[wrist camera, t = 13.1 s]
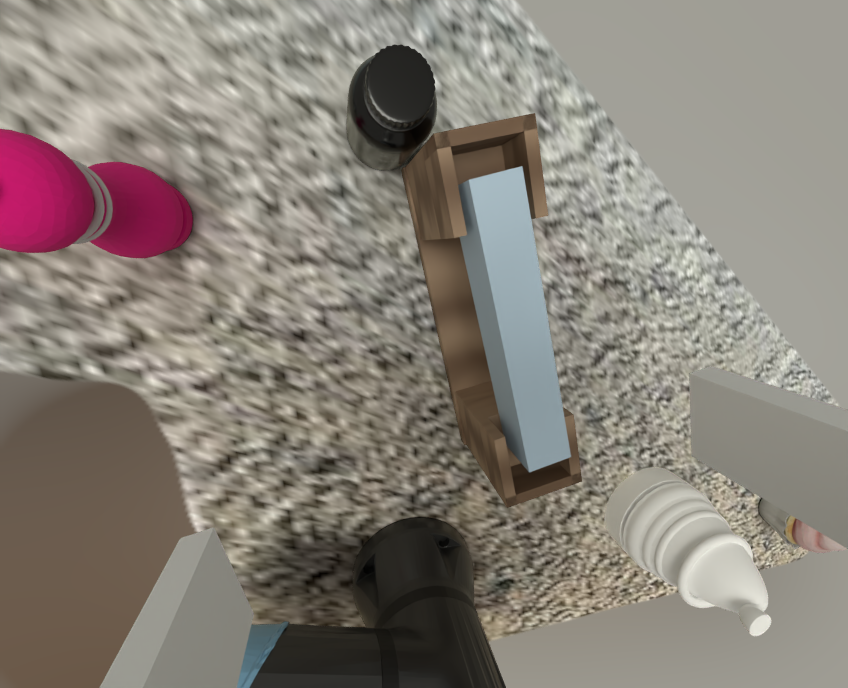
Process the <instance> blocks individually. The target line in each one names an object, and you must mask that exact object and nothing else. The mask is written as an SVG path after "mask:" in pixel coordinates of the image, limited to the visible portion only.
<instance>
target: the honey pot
mask: <svg viewBox="0 0 848 688" xmlns="http://www.w3.org/2000/svg"><path fill="white" fill-rule="evenodd" d="M604 520H605V527H606V529H607V531H608V533H609V535H610V536H611V537H612V538H613V539H614V541H615V542H616V543H617V544H618V545H619V546H620V547H621V548H622V549H623V550H624V551H625V552H626V553H627V554H628V555H629V556H630V557H631V558H632V559H633V561H634V562H635V563H636V564H637V565H638V566H639V567H641V568H642V569H644V570H646V571H648V572H651V573H653V574H654V575H655V576H657V577H659V578H661V579H663V580H664V581H665V582H666V583H668V584H670V585H672V586H675V587H677V589H678V592H679V594H680V596H681V597H682V599H683V600H685V602H686V603H688V604H689V605H692V606H694V607H697V608H708V607H713V606H718V607H720V608H723V609H726V610H729V611H732V612H736V613H739V617H740V620H741V622H742V624H743V626H744V627H745V628H746V630H747V631H748V632H749V633H750V634H751V635H753V636H759V635H761V634H763V633H764V632H765V631H766V630H767V629H768V628H769V626H770V624H771V618H770V616H768V615H767V614H766V613H764V612H763V611H764V610H765V609H766V608H767V606H768V594H767V590H766V587H765V584H764V581H763V579H762V577H761V575H760V572H759V570H758V569H757V567H756V565H755V563H754V562H753V553H752V550H751V547H750V545H749V544H748V543H747V541H746V540H745V539H744V538H742V537H740V536H738V535H736V534H734V533H733V532H732V530H731V529H730V526H729V524H728V522H727V521H726V520H725V519H724V518H723V517H722V516H721V515H720V513H719V512H718V511H717V510H716V509H715V508H714V507H713V505H712V503H711V502H710V500H709V499H708V498H707V497H706V496H705V495H704V494H703V493H702V492H700V491H698V490H697V489H696V488H694V487H693V486H692V485H690V484H689V483H687V482H686V481H684V480H683V479H681V478H680V477H679V476H677V475H676V474H674V473H673V472H671V471H669V470H667V469H665V468H660V467H650V468H645V469H642V470H639V471H636V472H634V473H633V474H631V475H630V476H628V477H627V478H625V479H624V480H623V481H622V482H621V483H620V484H619V485H618V486H617V487H616V489H615V490H614V491H613V493H612V494H611V496H610V498H609V500H608V503H607V505H606V509H605V515H604ZM692 595H694V596H695V597H694V596H692Z"/></svg>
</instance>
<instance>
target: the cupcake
mask: <svg viewBox="0 0 848 688" xmlns="http://www.w3.org/2000/svg"><path fill="white" fill-rule="evenodd" d="M759 513H760V515H761V516H762V518H763V519H764V520H765V521H766V522H767V523H768V524H769V525H770V526H771V527H772V528H773V529H774V530H775V531H776V532H777V533H778V534H779V535H780V537H781V538H782V539H783V541H784V542H785V543H786V544H787V545H792V547H793V548H794V549H797V548H799V547H800V546H801V547H802V548H804V549H806V550H809V551H813V552H817V553H825V552H830V551H842V550H846V549H847V548H845V547H844V546H842V545H840V544H838V543H837V542H835V541H833V540H832V539H830V538H828V537H827V536H825V535H823V534H822V533H820V532H818V531H817V530H815V529H813V528H812V527H810V526H808V525H807V524H805V523H803V522H801V521H800V520H798V519H796V518H795V517H793V516H791V515H790V514H788V513H786V512H785V511H783V510H781V509H780V508H778V507H776V506H775V505H773V504H771V503H770V502H768V501H766V500H764V499H763V498H762V499H761V501H760V504H759Z"/></svg>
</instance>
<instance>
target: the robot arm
mask: <svg viewBox="0 0 848 688" xmlns="http://www.w3.org/2000/svg"><path fill="white" fill-rule="evenodd" d="M689 386H690V417H691V448H692V457H694V458H696V459H697V460H699V461H701V462H702V463H704V464H706V465H707V466H709V467H711V468H712V469H714V470H716V471H717V472H719V473H721V474H722V475H724V476H726V477H727V478H729V479H731V480H733V481H734V482H736V483H738V484H739V485H741V486H743V487H744V488H746V489H748V490H749V491H751V492H753V493H754V494H756V495H758V496H759V497H761V498H763V499H764V500H766V501H768V502H770V503H771V504H773V505H775V506H776V507H778V508H780V509H781V510H783V511H785V512H786V513H788V514H790V515H791V516H793V517H795V518H796V519H798V520H800V521H801V522H803V523H805V524H807V525H808V526H810V527H812V528H813V529H815V530H817V531H818V532H820V533H822V534H823V535H825V536H827V537H828V538H830V539H832V540H833V541H835V542H837V543H838V544H840V545H842V546H844V547H845V548H847V549H848V410H847V409H844V408H841V407H838V406H835V405H832V404H828V403H825V402H822V401H819V400H816V399H813V398H810V397H807V396H804V395H800V394H797V393H794V392H791V391H788V390H785V389H782V388H779V387H776V386H772V385H769V384H766V383H763V382H760V381H757V380H754V379H751V378H748V377H744V376H741V375H738V374H735V373H732V372H729V371H726V370H723V369H719V368H716V367H713V366H711V367H708V368H705V369H701V370H698V371H695V372H692V373H689ZM352 581H353V596H354V600H355V604H356V607H357V609H358V611H359V613H360V615H361V618H362V620H363V622H364V624H365V626H366V628H365V627H339V626H314V625H297V624H289V622H283V623H282V624H261V625H251V624H252V620H253V615H254V613H253V611H252V608H251V606H250V604H249V602H248V600H247V598H246V595H245V593H244V591H243V589H242V587H241V585H240V582H239V580H238V578H237V576H236V574H235V572H234V569H233V567H232V565H231V563H230V561H229V559H228V556H227V554H226V552H225V550H224V548H223V546H222V544H221V541H220V539H219V537H218V535H217V533H216V531H215V528H211V529H208V530H204V531H201V532H198V533H195V534H192V535H189V536H186V537H183V538H181V539H180V540H179V542H178V544H177V546H176V547H175V549H174V551H173V553H172V555H171V557H170V559H169V560H168V562H167V564H166V566H165V568H164V570H163V571H162V573H161V575H160V577H159V579H158V581H157V582H156V584H155V586H154V588H153V590H152V592H151V594H150V595H149V597H148V599H147V601H146V603H145V605H144V606H143V608H142V610H141V612H140V614H139V616H138V618H137V619H136V621H135V623H134V625H133V627H132V629H131V631H130V632H129V634H128V636H127V638H126V640H125V642H124V643H123V645H122V647H121V649H120V651H119V653H118V655H117V656H116V658H115V660H114V662H113V664H112V666H111V667H110V669H109V671H108V673H107V675H106V677H105V679H104V681H103V682H102V684H101V686H100V688H506V686H505V684H504V681H503V679H502V676H501V673H500V671H499V668H498V666H497V663H496V661H495V658H494V655H493V653H492V650H491V647H490V645H489V642H488V640H487V637H486V634H485V632H484V629H483V627H482V624H481V621H480V619H479V617H478V614H477V611H476V608H475V606H474V578H473V564H472V559H471V556H470V553H469V551H468V548H467V546H466V544H465V541H464V540H463V538H462V536H461V535H460V534H459V533H458V532H457V531H456V530H455V529H454V528H453V527H451V526H450V525H448V524H446V523H444V522H442V521H439V520H435V519H430V518H412V519H406V520H402V521H399V522H396V523H394V524H391V525H389V526H387V527H385V528H384V529H382V530H381V531H379V532H378V533H376V534H375V535H374V536H373V537H372V538H371V539H370V540H369V541H368V542H367V543H366V544H365V545H364V546H363V548H362V549H361V551H360V552H359V554H358V556H357V558H356V561H355V564H354V567H353V574H352Z"/></svg>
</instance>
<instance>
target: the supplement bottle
mask: <svg viewBox="0 0 848 688" xmlns="http://www.w3.org/2000/svg"><path fill="white" fill-rule="evenodd" d="M434 84H435V80H434V78H433V72H432V71H431V68H430V65H429V64H427V61H426V59H425V58H423V57H422V55H421V54H420V53H418V52H417V51H416V50H415V49H411V48H410V47H409V46H403V45H392V46H387V47H386V48H385V49H381V50H380V52H379V53H376V54H375V55H374V56H372V57H370V58H368V59H367V60H366V61H365V62H363V63H362V64H361V65H360V67H359V68H358V69H357V71H356V72H355V74H354V76H353V78H352V81H351V84H350V88H349V94H348V106H347V121H346V130H347V137H348V141H349V144H350V146H351V148H352V150H353V152H354V153H355V155H356V156H357V157H358V158H359V159H360V160H361V161H362V162H363V163H364V164H366V165H367V166H369V167H371V168H374V169H377V170H393V169H396V168H398V167H400V166H402V165H403V164H405V163H406V162H407V161H408V160H409V159H410V158H411V157H412V156H413V154H414V153H415V152H416V151H417V150H418V148H419V147H420V146H421V145H422V143H423V142H424V141H425V140H426V138H427V137H428V136H429V134H430V132H431V130H432V128H433V126H434V123H435V120H436V114H437V98H436V93H435V85H434Z"/></svg>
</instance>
